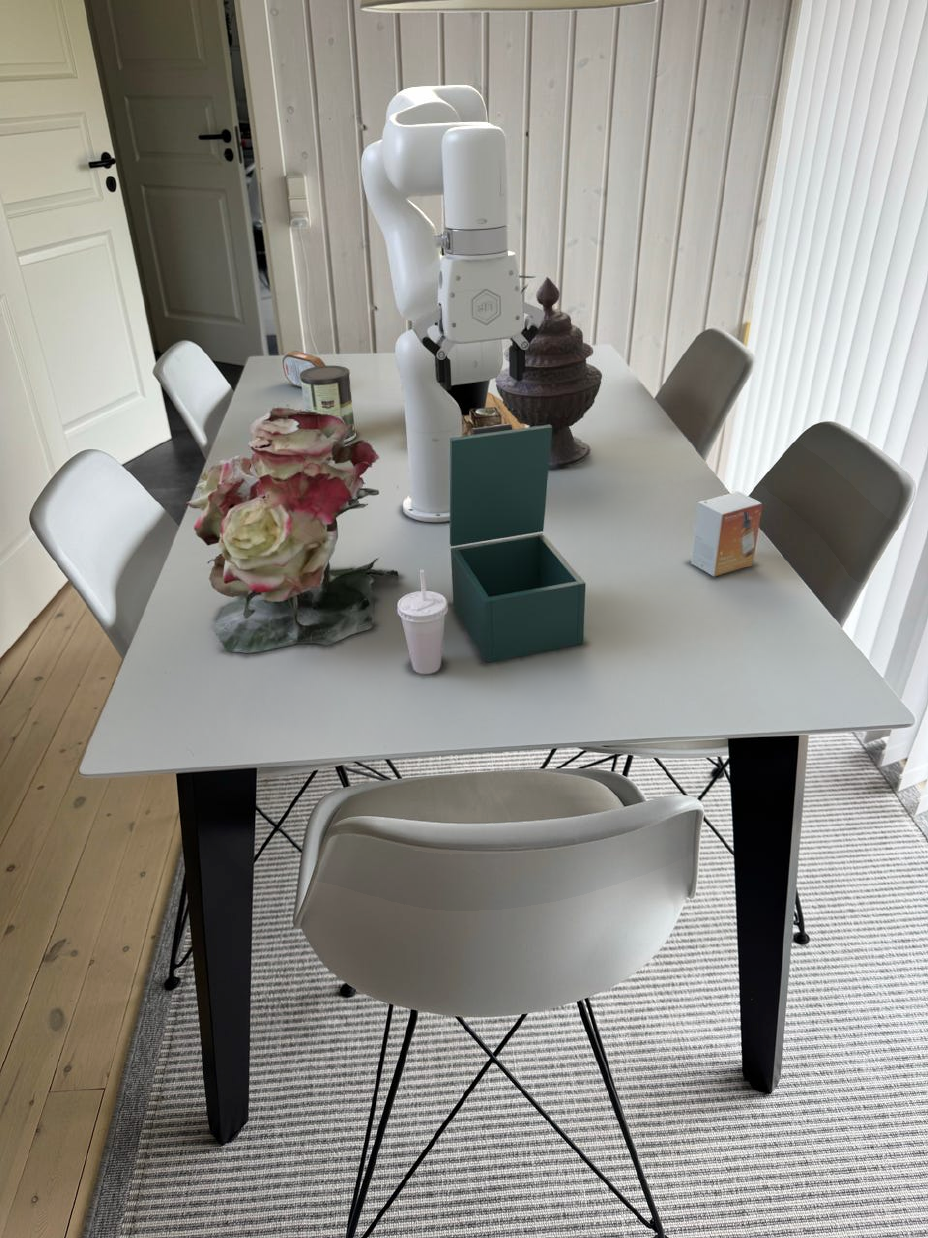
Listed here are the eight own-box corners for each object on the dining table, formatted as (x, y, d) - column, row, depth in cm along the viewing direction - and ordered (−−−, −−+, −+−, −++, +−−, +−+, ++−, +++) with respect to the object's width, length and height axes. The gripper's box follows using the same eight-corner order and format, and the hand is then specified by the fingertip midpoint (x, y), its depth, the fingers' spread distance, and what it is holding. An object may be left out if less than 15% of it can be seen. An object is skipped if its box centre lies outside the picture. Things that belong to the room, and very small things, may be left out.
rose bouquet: (222, 570, 144) (185, 384, 128) (405, 567, 142) (390, 379, 127) (173, 661, 122) (121, 450, 106) (388, 659, 121) (368, 444, 105)
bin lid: (552, 427, 119) (538, 408, 123) (451, 440, 116) (440, 421, 120) (543, 531, 130) (530, 511, 134) (451, 546, 127) (440, 525, 131)
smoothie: (458, 658, 120) (454, 565, 113) (437, 684, 115) (431, 589, 108) (416, 648, 123) (409, 557, 115) (393, 673, 118) (384, 579, 110)
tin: (332, 391, 222) (328, 357, 217) (322, 395, 220) (318, 360, 215) (292, 381, 230) (288, 347, 226) (283, 384, 228) (278, 350, 224)
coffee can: (342, 425, 200) (335, 361, 193) (364, 438, 193) (358, 372, 186) (299, 436, 195) (291, 371, 188) (321, 449, 188) (312, 382, 181)
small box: (713, 578, 136) (721, 514, 131) (689, 563, 141) (696, 501, 135) (754, 565, 139) (763, 502, 134) (729, 551, 144) (737, 489, 138)
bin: (583, 643, 122) (585, 583, 117) (486, 663, 119) (484, 601, 114) (541, 589, 135) (542, 532, 130) (453, 605, 132) (450, 547, 127)
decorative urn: (594, 431, 189) (594, 257, 169) (609, 475, 173) (611, 287, 153) (497, 439, 190) (486, 267, 170) (503, 484, 173) (491, 298, 153)
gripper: (415, 252, 104) (424, 399, 113) (555, 240, 108) (553, 382, 117) (400, 244, 110) (409, 383, 119) (532, 232, 114) (532, 368, 123)
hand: (481, 383), depth 118 cm, fingers open, 9 cm apart
